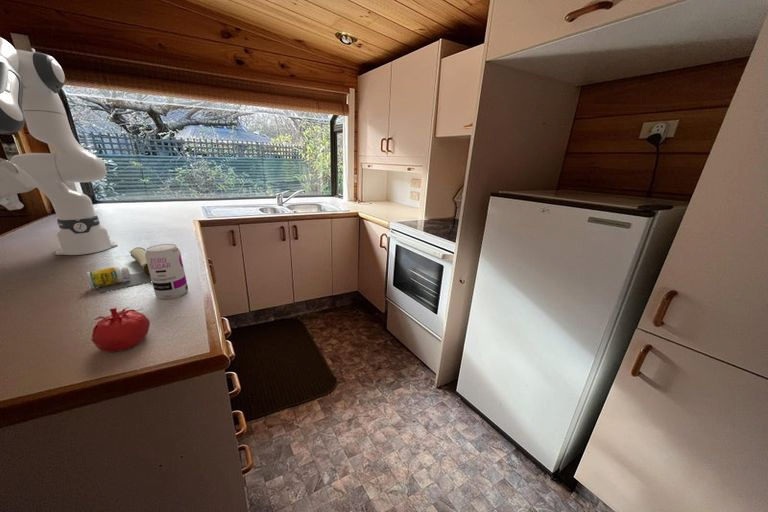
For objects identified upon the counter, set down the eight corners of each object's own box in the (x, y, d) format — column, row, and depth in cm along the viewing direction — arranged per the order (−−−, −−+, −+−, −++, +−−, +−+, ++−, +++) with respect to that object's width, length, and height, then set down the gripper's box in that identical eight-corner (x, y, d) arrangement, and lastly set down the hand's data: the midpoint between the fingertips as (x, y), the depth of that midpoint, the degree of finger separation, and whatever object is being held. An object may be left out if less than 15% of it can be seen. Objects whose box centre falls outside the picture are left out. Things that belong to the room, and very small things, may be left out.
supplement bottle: (91, 286, 93) (130, 278, 99) (91, 291, 89) (132, 282, 95) (86, 270, 91) (126, 263, 97) (86, 274, 87) (128, 267, 94)
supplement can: (184, 285, 95) (175, 241, 90) (191, 294, 90) (181, 248, 85) (154, 293, 90) (141, 246, 85) (159, 303, 84) (146, 254, 79)
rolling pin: (166, 276, 100) (162, 263, 98) (145, 281, 96) (141, 267, 94) (147, 255, 121) (144, 244, 119) (129, 258, 117) (126, 246, 115)
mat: (97, 282, 96) (96, 281, 96) (163, 268, 108) (163, 267, 108) (99, 293, 89) (98, 292, 89) (170, 277, 101) (170, 276, 101)
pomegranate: (162, 331, 72) (154, 297, 69) (130, 357, 63) (119, 319, 60) (120, 330, 72) (110, 295, 69) (82, 356, 62) (68, 318, 59)
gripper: (14, 151, 76) (60, 197, 85) (-60, 163, 77) (-6, 207, 86) (-9, 161, 71) (43, 209, 81) (-87, 174, 72) (-27, 220, 81)
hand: (17, 208), depth 83 cm, fingers closed
